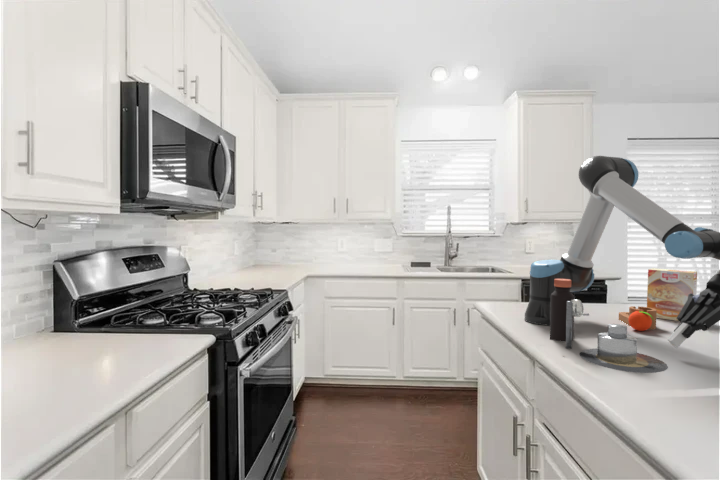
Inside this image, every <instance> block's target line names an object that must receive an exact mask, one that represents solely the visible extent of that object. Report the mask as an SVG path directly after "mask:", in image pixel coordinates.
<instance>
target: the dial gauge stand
mask: <svg viewBox="0 0 720 480" xmlns="http://www.w3.org/2000/svg"><path fill="white" fill-rule="evenodd" d="M584 310H585V309H584V304H583V302H582V301H581V300H580V299H577V298H576V299H575V298H574V299H573V300H571V301H567V313H566V342H565V349H567V350H572V348H573V341H572V319H573V316H574V318H579V317H583V316H584V317H585V316H586V317H588V316H590V312H589V313H584Z"/></svg>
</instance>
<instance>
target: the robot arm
mask: <svg viewBox="0 0 720 480" xmlns="http://www.w3.org/2000/svg"><path fill="white" fill-rule="evenodd" d="M578 179H579V182H580V183H581V185H582V186H583V187H584V188H585V189H587V191H588V192H589V195H590V196H589V198H588V201H587V203H586V206H585V209H584V211H583V213H582V216H581V218H580V221H579V224H578V227H577V229H576V231H575V233H574V236H573V237H572V241H571V243H570V246H569V248H568V251H567V252H566V253H563V254H562V255H561V258H560V259H541V260H537V261H534V262H532V263H531V265H530V270H529V301H528V305H527V306H526V309H525V312H524V321H526V322H528V323H531V324H535V325H543V326H550V302H551V294H552V293H553V292H554V291H555V286H554V279H570V280H571V289H570V292H571V293H577V292H582V291H586V290H587V289H589V288H590V287H591V286H592V284H594V281H595V273H594V269H593V268H594V263H593V261H592V259H593V258H594V257H593V256H594V254H595V253H596V250H597V248H598V245H599V243H600V241H601V238H602V235H603V233H604V230H605V229H606V226H607V224H608V221H609V219H610V217H611V214H612V212H613V210H614V207H616V209H618V210H619V211H621V212H622V213H623V214H624V215H625V216H627V217H628V218H629V219H631V220H632V221H634V222H636V223H637V225H639V226H640V227H641V228H643V229H644V230H646V231H647V233H650V234H651V235H652V236H653V237H655V238H656V239H658V241H660V242H661V243H662V244H664V248H665V250H666V252H667V254H668V255H670V256H672V257H673V258H677V259H683V260H684V259H685V260H686V259H687V260H688V259H697V258H712V259H716V260H718V261H720V232H719V231H717V230H714V229H711V228H705V227H702V226H697V227H695V228H694V229H693V228H691V227H690V226H688V225H687V224H686V223H684V222H683V221H682V220H680V219H679V218H678V217H676V216H674V215H673V214H672V213H670V212H668V211H667V210H665V209H664V208H663V207H661V206H660V205H659V204H658V203H656V202H654V201H653V200H651V199H650V198H649V197H647V196H646V195H645V194H643V193H641V192H640V191H639V190H638V189H636V188H634V187H635V185H636V184H637V182H638V179H639V170H638V168H637V166H636V164H635V163H634V162H633V161H632V160H629V159H628V158H627V159H626V158H623V157H616V156H606V155H595V156H592V157H589V158H587V159H586V160H584V161H583V163H582V164H581V165H580V167H579V169H578ZM677 319H678V320H679V321H678V322H680V323H679V324H678V325H677V327H675V329H674V330H673V332H672V334H670V336H669V337H668V338H666V341H667V342H668V343H670V345H672V346H673V347H675V348H676V349H677V348H679V347H680V346H681V345H682V344H683V342H685V341H686V340H687V339H689V338H691V336H692V335H693V334H694V333H695V332H698V331H700V330H702V331H704V332H705V331H706V332H707V330H709V329H711V327H712V326H714V325H715V324H717V323H719V322H720V269H719V270H718V271H717V272H716V274H713V276H712V277H711V278H710V279H709V280H708V281H707V282H706V287H705V289H703V290H701V291H700V292H699V293H698V294H696V295H693V294H692V293H691V294H689V295H688V300H687V301H686V303H685V305H684V306H683V308H682V310H681V311H680V313H679V315H678V316H677Z"/></svg>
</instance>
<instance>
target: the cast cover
mask: <svg viewBox="0 0 720 480" xmlns="http://www.w3.org/2000/svg"><path fill="white" fill-rule="evenodd" d="M637 353H638V338H637V337H635V336H632V335H629V334H628V325H626V324H625V325H624V324H619V323H608V324H607V332H600V333H598V334H597V357H598V358H599V359H601V360H604V361H607V362H611V363H616V364H626V365H628V364H635V363H636V362H637Z"/></svg>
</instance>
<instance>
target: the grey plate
mask: <svg viewBox="0 0 720 480" xmlns="http://www.w3.org/2000/svg"><path fill="white" fill-rule="evenodd" d="M579 357H581V358H582V359H583V360H585V361H586V362H589V363H592V364H593V365H597V366H600V367H603V368H607V369H612V370H616V371H622V372H630V373H640V374H642V373H643V374H645V373H646V374H648V373H649V374H651V373H653V374H654V373H661V372H665V371H666V370H668V367H669V366H668V365H667V363H666V362H664V361H663V360H660V359H658V358H656V357H653V356H651V355H648V354H644V353H641V352H640V353H639V352H637V362H636V363H635V364H628V365H626V364H616V363H611V362H607V361H604V360H601V359H599V358H598V357H597V348H588V349H587V348H586V349H583V350H581V351H580V352H579Z"/></svg>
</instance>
